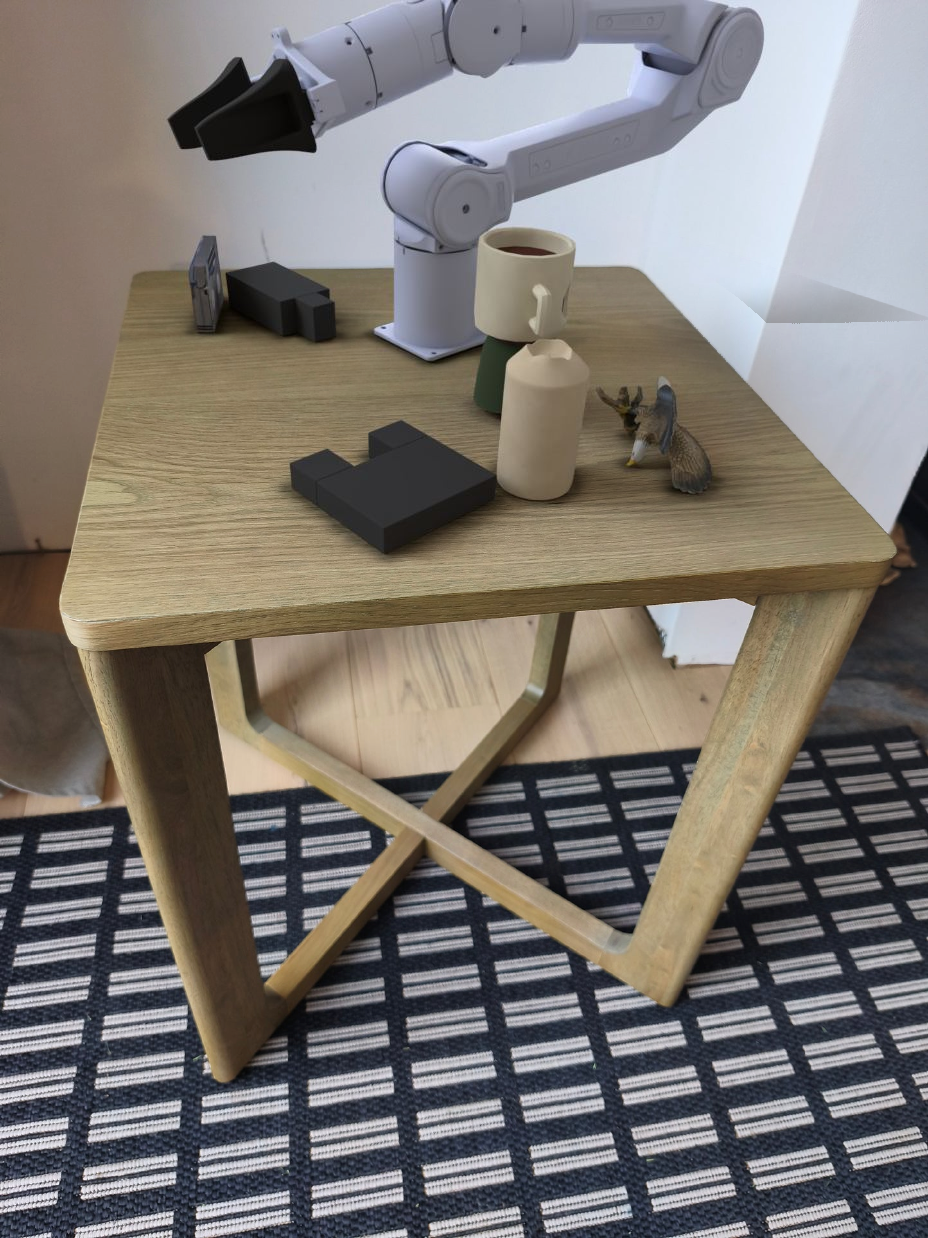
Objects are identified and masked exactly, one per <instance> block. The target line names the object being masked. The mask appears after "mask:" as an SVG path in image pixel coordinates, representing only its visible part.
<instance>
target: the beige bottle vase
mask: <svg viewBox="0 0 928 1238" xmlns="http://www.w3.org/2000/svg"><path fill="white" fill-rule="evenodd" d="M590 376H591V370H590V368H589V366H588V365H587V364H586V362H585V361H584V360H583V359H582V358H581V356H580V355H579V354H577V353H576V352H575V350H574V349H573V348H572V347H570V346H569V344H568V343H567V342H566V341H565V340H563V339H552V338H549V339H540V340H537V341H536V342H535V343H534V344H526V346H525V347H524V348H522V349H521V350H520V351H519V352H518V353H516V354H515V355H514V356H513V357H512V358H510V359H509V360H508V362H507V365H506V374H505V385H504V396H503V407H502V413H501V418H500V419H501V420H500V430H499V442H498V449H497V450H498V452H497V461H496V462H497V463H496V475H497V483H498V485H499V486H500V487H501V488H502V489H503V490H504V491H506V492H507V493H509V494H511V495H513V496H514V497H518V498H521V499H525V500H526V499H527V500H533V501H547V500H548V501H549V500H553V499H557V498H560V497H562V496H564V495H565V494H566V493H568V492H569V491H570V489H571V487H572V484H573V481H574V476H575V471H576V470H575V469H576V463H577V459H578V458H577V457H578V451H579V445H580V441H581V433H582V426H583V420H584V416H585V415H584V413H585V408H586V401H587V394H588V389H589V383H590Z"/></svg>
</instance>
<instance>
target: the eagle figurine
mask: <svg viewBox="0 0 928 1238" xmlns="http://www.w3.org/2000/svg"><path fill="white" fill-rule="evenodd" d="M656 385H657V386H656V398H655V401H654V403H651V404H650V405H646V404H641V402H642V401H643V400H644V395H643V388H642V387H641V386H640V384H638V385H637V387H636V389H637V390H636V395H635V396H634V398H633V399H632V400H630V393H629V388H628V386H627V385H625V386H621V387H620V388H619V390H618V392H617V399H614V398H612V397H611V396H609V395H608V394H607V393H606V392H605V391H604V390H603V389H602V387H600V386H596V387H595V391H596V394H597V397H598V398H599V400H601V402H603V403H604V404H605V405H606V406H608V407H611V408H612V409H613V410H614V412H615V413H617V414H618V417H620V419H621V421H622V424H623V429H624V432H625V433H626V437H628V438H632V437H633V435H634V434H635V440H634V443H633V448H632V451H631V454H630V459H629V461H628V462H627V463H626V466H627V467H631V466H633V465H634V464H635V463H638V462H641V460H643V458H644V456H645V454H646V453H647V451H648V449H649V448H650V447H651V445H654V444H655V445H658V446H659V452H660V453H661V455H662V456H663V455H664V456H665V455H666V456H667V459H668V461H669V464H670V476H671V483H672V487H673V488H674V489H679V490H680V491H681V492H682V493H686V492H688V493H689V494H691V495H695V494H702V493H703V490H706V489H708V484H710V483H711V479H712V478H713V471H712V465H711V463H710V462H711V461H710V459H709V457H708V456H707V453H706V451H705V449H704V448H703V447H702V445H701V444H700V442H699V441H698V439H696V437H695V436H693V435H692V434H691V433H690V431H688V429H686V428H685V427H684V426H682V425H681V424H680V423H679V422H678V406H677V397H676V393H675V390H674V389H673V388H672V384H671V382H670V381H669V380H668V379H667V377H664V376H662V375H660V376H658V377H657V384H656ZM630 401H631V402H630ZM637 417H638V418H639V419H640V421H638V422H637V421H635V420H636V418H637ZM635 432H636V433H635Z"/></svg>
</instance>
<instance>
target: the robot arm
mask: <svg viewBox="0 0 928 1238" xmlns="http://www.w3.org/2000/svg"><path fill="white" fill-rule="evenodd" d="M269 34H270V37H271V40H272V43H273V50H272V53H271V55H270V57H269V60H268V62H267V64H266V66H265V69H264V71H263V73H259V74H258V75H256V76H253V77H250V76H249V72H248V70H247V67H246V63H245V62H244V59H243V57H242V56H235V57H233V58H232V59H231V60H230V61H229V62H228V63H227V64H226V66H225V67H224V69H223V71H222V72H221V73H220V74H219V76H218V77H217V78H216V79H215V80H214V81H213V82H212V83H211V84H210V85H209V86H208V87H207V88H206V89H205V90H203V91H202V92H200V93H199V94H198V95H197V96H195V97H194V98H192V99H190V100H189V101H188V102H187V103H185V104H184V105H182V106H181V107H180V108H178V109H177V110H175V112H172V113H171V115H170V116H169V117H168V118H166V120H167V123H168V126H169V127H170V130H171V132H172V134H173V137H174V139H175V142H176V143H177V145H178V148H179V149H180V150H194V149H201V148H202V149H203V152H204V154H205V157H206V159H207V161H210V162H215V161H216V162H218V161H226V160H231V159H236V158H242V157H246V156H251V155H257V154H263V153H272V152H300V153H310V154H315V153H316V152H317V150H318V146H317V141H316V140H317V139H319V138H321V137H323V136H324V134H325V133H326V132H328V131H331V130H332V129H334V128H336V127H339V126H342V125H344V124H346V123H349V122H351V121H353V120H356V119H357V118H360V117H363V116H365V115H367V114H370V113H372V112H374V111H376V110H378V109H380V108H383V107H385V106H388V105H390V104H392V103H394V102H397V101H399V100H402V99H403V98H407V97H409V96H411V95H413V94H415V93H418V92H420V91H423V90H425V89H426V88H427V87H429V86H431V85H434V84H436V83H438V82H441V81H443V80H445V79H448V78H450V77H452V76H454V74H455V73H454V72H455V71H456V72H459V73H461V74H463V75H464V74H465V75H468V76H476V77H481V78H482V79H488V78H490V77H491V76H493V75H494V74H495V73H497V72H498V71H500V69H502V68H517V67H529V66H531V67H532V66H547V65H559V64H563V63H565V62H567V61H568V60H570V58H571V57H572V56H574V53H575V52H576V50H577V49H578V47H579V45H616V44H617V45H626V44H627V45H629V44H630V45H631V44H632V45H633V47H634V49H635V50H636V51H637V54H636V58H635V62H634V65H633V69H632V72H631V75H630V79H629V82H628V83H629V84H628V87H627V91H626V95H627V97H626V98H624V99H619V100H617V101H614V102H610V103H606V104H603V105H599V106H597V107H593V108H590V109H587V110H583V111H581V112H580V111H579V112H577V113H573V114H570V115H567V116H564V117H560V118H557V119H553V120H551V121H547V122H544V123H541V124H537V125H534V126H530V127H527V128H524V129H521V130H517V131H513V132H511V133H507V134H504V135H500V136H497V137H494V138H491V139H488V140H448V141H445V142H442V143H430V142H427V141H424V140H423V139H422V140H421V139H409V140H405V141H403V142H401V143H400V144H398V145H397V146H395V147H393V149H392V150H391V152H389V154H388V156H387V157H386V158H385V161H384V163H383V165H382V168H381V170H380V171H381V173H380V176H379V177H380V180H379V187H380V194H381V197H382V200H383V202H384V204H385V206H386V207H387V208H388V210H389V211H390V212H391V213H392V214H393V321H392V322H389V323H386V324H383V325H380V326H377V327H374V328H373V334H374V335H376V336H378V337H380V338H382V339H384V340H386V341H388V342H390V343H391V344H394V345H395V346H397V347H399V348H401V349H402V350H406V351H407V352H409V353H411V354H413V355H415V356H417V357H419V358H421V359H423V360H425V361H427V362H434V361H437V360H440V359H442V358H445V357H448V356H451V355H454V354H457V353H460V352H462V351H466V350H468V349H471V348H474V347H477V346H480V345H483V344H484V342H485V340H486V338H487V336H488V334H485V333H483V332H482V331H481V330H479V329H478V328H477V327H476V326H475V317H474V304H475V289H476V273H477V257H478V243H479V237H480V236H481V235H482V234H483V233H485V232H487V231H490V230H492V229H493V228H494V227H495V226H498V225H500V224H503V223H506V222H509V220H510V217H511V214H512V211H513V205H514V204H515V203H518V202H521V201H524V200H528V199H531V198H533V197H536V196H540V195H542V194H545V193H549V192H552V191H555V190H558V189H561V188H563V187H567V186H570V185H572V184H576V183H579V182H581V181H584V180H585V181H586V180H588V179H590V178H594V177H597V176H600V175H603V174H606V173H608V172H612V171H614V170H619V169H621V168H624V167H627V166H630V165H633V164H636V163H639V162H642V161H645V160H649V159H652V158H654V157H657V156H660V155H663V154H665V153H667V152H669V151H671V150H672V149H673V148H675V147H676V146H677V145H678V144H679V143H680V142H681V141H682V140H683V139H684V138H685V137H687V136H688V135H689V134H690V133H691V132H692V131H694V129H695V128H696V127H697V126H699V125H700V124H701V123H702V122H703V121H704V120H705V119H706V118H708V117H709V115H711V114H712V113H713V112H714V111H716V110H718V109H721V108H722V107H726V106H728V105H731V104H734V103H736V102H738V101H740V99H741V98H742V96H743V94H744V92H745V90H746V89H747V86H748V84H749V83H750V81H751V79H752V77H753V75H754V74H755V71H757V70H756V69H757V67H758V66H759V63H760V61H761V57H762V53H763V49H764V43H765V28H764V24H763V20H762V18H761V16H760V15H759V13H758V12H757V11H756V10H755V9H752V8H751V7H747V6H746V7H745V6H738V7H732V6H729V5H728V4H724V3H722V2H717V1H711V0H402V1H396V2H392V3H389V4H387V5H384V6H382V7H380V8H377V9H374V10H372V11H370V12H367V13H364V14H362V15H360V16H357V17H355V18H351V19H350V20H347V21H344V22H342V23H340V24H338V25H335V26H332V27H330V28H327V29H325V30H323V31H320V32H318V33H315V34H313V35H310V36H307V37H305V38H303V39H300V40H298V41H295V42H293V41H292V39H291V36H290V33H289V30H288V29H287V28H286V27H285V26H276V27H274V28H271V29H270V33H269Z"/></svg>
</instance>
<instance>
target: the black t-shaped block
mask: <svg viewBox="0 0 928 1238" xmlns="http://www.w3.org/2000/svg"><path fill="white" fill-rule="evenodd" d="M224 275H225V282H226V291H227V298H228V305H229V307H230V308H232V309H234V310H236V311H238V312H239V313H241V314H243V315H245V316H247V317H248V318H249V319H252V320H254V321H256V322H257V323H258V324H261V325H262V326H264V327H266V328H268V329H269V330H272V331H273V332H275V333H277V334H278V335H280V336H282V337H285V336H289V335H292V334H295V333H298V334H300V335H301V336H303V337H305V338H307V339H309V340H311V341H313V342H314V343H317V342H321V341H323V340H324V341H325V340H327V339H330V338H331V339H332V338H333V337H337V326H336V325H337V323H336V320H337V319H336V302H335V300H332V299H331V289H330V288H329V287H327V286H325V285H322V284H321V283H319V282H317V281H314V280H312V279H310V278H308V277H306V276H304V275H303V274H301V273H298V272H297V271H294V270H292V269H290V268H288V267H286V266H284V265H282V264H280V263H278V262H276V261H270V262H265V263H262V264H261V263H260V264H256V265H254V266H253V265H252V266H248V267H243V268H239V269H235V270H231V271H227V272H225V273H224Z"/></svg>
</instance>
